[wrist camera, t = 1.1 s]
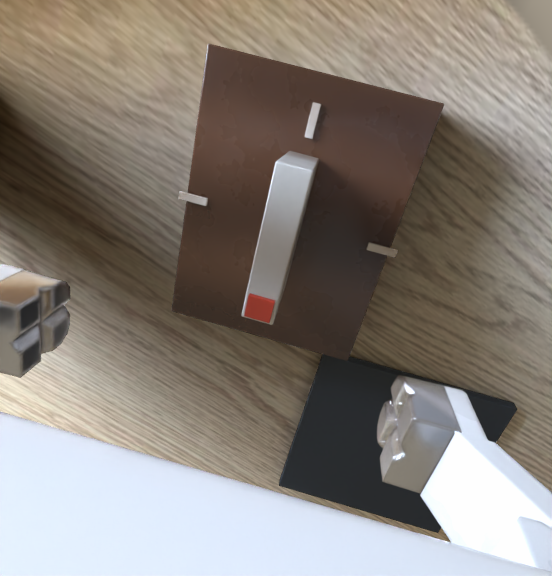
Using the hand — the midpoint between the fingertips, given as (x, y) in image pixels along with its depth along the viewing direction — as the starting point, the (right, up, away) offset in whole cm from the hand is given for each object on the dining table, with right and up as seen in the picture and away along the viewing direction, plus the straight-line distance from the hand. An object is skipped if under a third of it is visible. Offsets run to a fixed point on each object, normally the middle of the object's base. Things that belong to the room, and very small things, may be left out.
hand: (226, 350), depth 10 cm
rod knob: (+2, +5, +9) cm, 11 cm away
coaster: (+9, -9, +18) cm, 22 cm away
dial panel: (+2, +6, +12) cm, 14 cm away
